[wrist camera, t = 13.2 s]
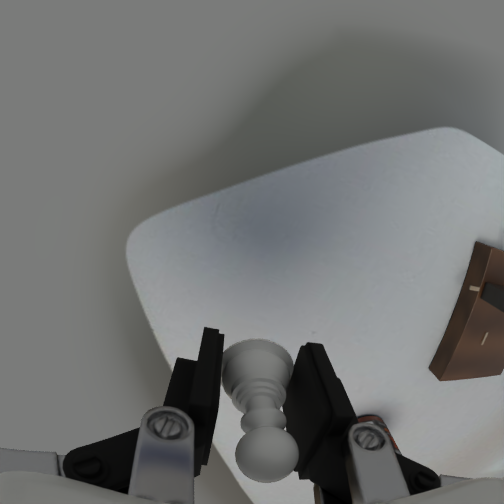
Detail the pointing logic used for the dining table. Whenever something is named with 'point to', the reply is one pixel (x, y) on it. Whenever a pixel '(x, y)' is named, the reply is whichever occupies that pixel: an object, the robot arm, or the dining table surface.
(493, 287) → the dark battery block
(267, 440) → the chess pawn
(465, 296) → the panel
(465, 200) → the dining table surface
